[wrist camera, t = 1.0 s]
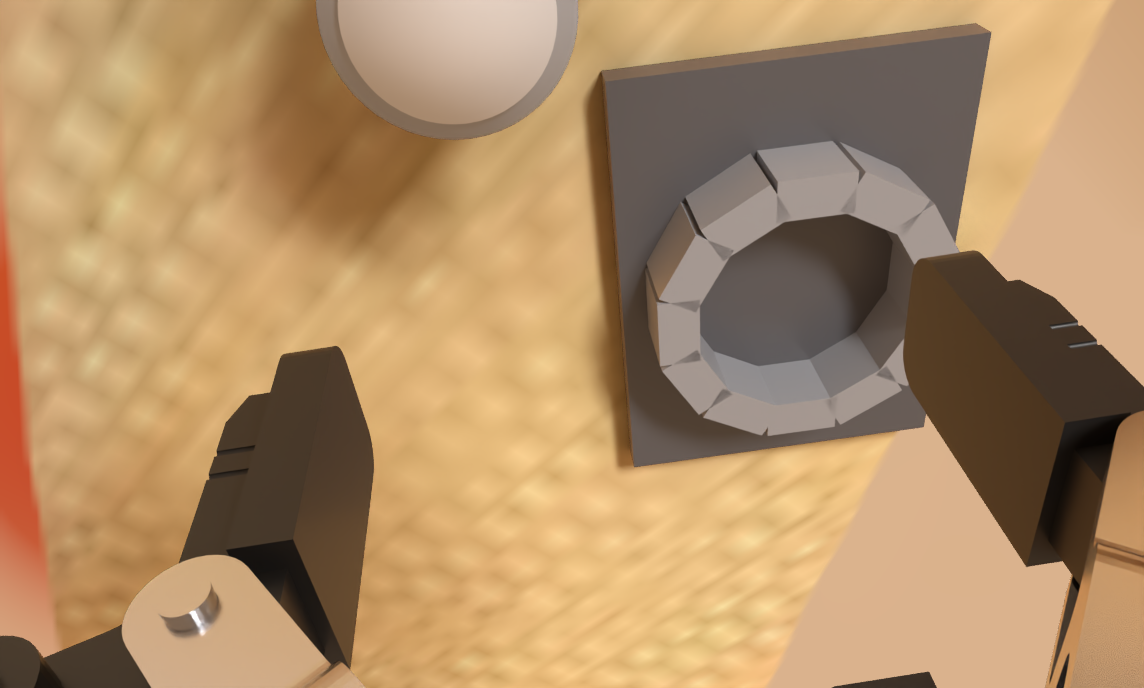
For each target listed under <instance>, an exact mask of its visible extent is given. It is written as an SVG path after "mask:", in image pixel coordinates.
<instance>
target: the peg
mask: <svg viewBox="0 0 1144 688" xmlns="http://www.w3.org/2000/svg"><path fill="white" fill-rule="evenodd" d="M316 12H317V20H318V25H319V30H320V34H321V37H322V41H323V44H324V47H325V50H326V52H327V54H328V56H329V58H330V61H331V63H332V65H333V67H334V68H335V70H336V72H337V73H338V75H339V76H340V78H341V80H342V81H343V82H344V84H345V85H346V86H347V87H348V89H349V90H350V91H351V92H352V94H353V95H354V96H355V97H356V98H358V99H359V100H360V101H361V102H362V103H363V104H364V105H365V106H366V107H367V108H368V109H370V110H371V111H372V112H374V113H375V114H376V115H377V116H379V117H381V118H382V119H384V120H386V121H387V122H389V123H391V124H392V125H395V126H397V127H399V128H401V129H403V130H406V131H408V132H411V133H415V134H418V135H421V136H426V137H431V138H436V139H449V140H459V139H471V138H477V137H482V136H486V135H489V134H492V133H495V132H499V131H501V130H503V129H505V128H507V127H510V126H512V125H514V124H515V123H517V122H519V121H520V120H522V119H523V118H525V117H526V116H528V115H529V114H530V113H531V112H533V111H534V110H535V109H536V108H537V107H538V106H540V105H541V103H542V102H543V101H544V100H545V99H546V98H547V97H548V96H549V95H550V94H551V92H552V91H553V89H554V88H555V86H556V85H557V84H558V82H559V81H560V79H561V77H562V75H563V73H564V71H565V69H566V67H567V65H568V62H569V60H570V57H571V54H572V52H573V48H574V43H575V39H576V35H577V25H578V0H316Z"/></svg>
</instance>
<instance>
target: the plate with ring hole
mask: <svg viewBox="0 0 1144 688" xmlns="http://www.w3.org/2000/svg"><path fill="white" fill-rule="evenodd" d="M990 37H991V32H990V31H988V30H987V29H985V28H983V27H981V26H980V25H978V24H976V23H975V24H967V25H960V26H952V27H944V28H936V29H928V30H920V31H912V32H904V33H897V34H889V35H881V36H873V37H865V38H857V39H849V40H841V41H833V42H826V43H818V44H810V45H802V46H794V47H786V48H778V49H770V50H763V51H755V52H747V53H739V54H731V55H723V56H715V57H707V58H699V59H692V60H684V61H676V62H668V63H660V64H652V65H644V66H636V67H629V68H621V69H613V70H605V71H601V74H602V87H603V100H604V113H605V126H606V139H607V152H608V165H609V178H610V191H611V204H612V217H613V230H614V243H615V256H616V269H617V283H618V296H619V309H620V322H621V335H622V348H623V361H624V374H625V387H626V400H627V413H628V426H629V439H630V451H631V456H632V460H633V464H634V467H639V466H646V465H653V464H661V463H668V462H675V461H682V460H689V459H697V458H704V457H711V456H718V455H726V454H733V453H740V452H747V451H755V450H762V449H769V448H776V447H783V446H791V445H798V444H805V443H812V442H820V441H827V440H834V439H841V438H848V437H856V436H863V435H870V434H877V433H885V432H892V431H899V430H906V429H913V428H920V427H924V422H925V416H926V412H925V411H924V409H923V408H922V406H921V405H920V403H919V402H918V400H917V399H916V397H915V396H914V394H913V392H912V391H911V388H910V386H909V384H908V381H907V378H906V374H905V369H904V363H903V345H904V337H905V329H906V320H907V312H908V304H909V296H910V287H911V279H912V272H913V269H914V266H915V264H916V262H917V261H918V260H919V259H921V258H927V257H934V256H940V255H947V254H953V253H960V252H959V250H958V248H957V246H956V244H955V241H956V236H957V230H958V224H959V218H960V212H961V206H962V201H963V195H964V189H965V183H966V177H967V171H968V166H969V160H970V154H971V148H972V142H973V136H974V131H975V125H976V119H977V113H978V107H979V101H980V96H981V90H982V84H983V78H984V72H985V67H986V61H987V55H988V49H989V43H990Z"/></svg>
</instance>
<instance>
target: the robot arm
mask: <svg viewBox="0 0 1144 688" xmlns="http://www.w3.org/2000/svg"><path fill="white" fill-rule="evenodd" d="M903 363H904V369H905V374H906V378H907V381H908V384H909V386H910V388H911V391H912V392H913V394H914V396H915V397H916V399H917V400H918V402H919V403H920V405H921V406H922V408H923V409H924V411H925V412H926V414H927V415H928V417H929V418H930V420H931V422H932V423H933V424H934V426H935V428H936V429H937V431H938V432H939V434H940V435H941V437H942V438H943V440H944V441H945V443H946V444H947V446H948V447H949V449H950V451H951V452H952V453H953V455H954V457H955V458H956V460H957V461H958V463H959V464H960V466H961V467H962V469H963V470H964V472H965V473H966V475H967V477H968V478H969V480H970V481H971V483H972V484H973V486H974V487H975V489H976V490H977V492H978V493H979V495H980V496H981V498H982V500H983V501H984V503H985V504H986V506H987V507H988V509H989V510H990V512H991V513H992V515H993V516H994V518H995V519H996V521H997V522H998V524H999V526H1000V527H1001V529H1002V530H1003V532H1004V533H1005V535H1006V536H1007V537H1008V539H1009V541H1010V542H1011V544H1012V545H1013V547H1014V548H1015V550H1016V551H1017V553H1018V554H1019V556H1020V558H1021V559H1022V561H1023V562H1024V564H1025V565H1026V567H1028V566H1035V565H1041V564H1047V563H1054V562H1060V561H1063V562H1064V564H1065V565H1066V566H1067V568H1068V569H1069V571H1070V572H1071V574H1072V575H1071V579H1070V582H1069V585H1068V588H1067V591H1066V596H1065V600H1064V605H1063V610H1062V614H1061V618H1060V623H1059V627H1058V632H1057V636H1056V641H1055V645H1054V649H1053V654H1052V659H1051V663H1050V668H1049V672H1048V676H1047V681H1046V685H1045V688H1144V387H1143V386H1142V385H1141V384H1140V383H1139V382H1138V381H1137V380H1136V379H1135V378H1134V377H1133V376H1132V375H1131V374H1130V373H1129V372H1128V371H1127V370H1126V369H1125V368H1124V367H1123V366H1122V365H1121V364H1120V363H1119V362H1118V361H1117V360H1116V359H1115V358H1114V357H1113V356H1112V355H1111V354H1110V353H1109V352H1108V351H1107V350H1106V349H1105V348H1104V347H1103V346H1102V345H1097V340H1096V339H1095V338H1094V337H1093V336H1092V335H1091V334H1090V333H1089V332H1088V331H1087V330H1086V329H1085V328H1084V327H1083V326H1078V321H1077V320H1076V319H1075V318H1074V317H1073V316H1072V315H1071V314H1070V313H1069V312H1068V311H1067V310H1066V309H1065V308H1064V307H1063V306H1062V305H1061V304H1060V303H1059V302H1058V301H1057V300H1056V299H1055V298H1054V297H1052V296H1050V295H1048V294H1046V293H1044V292H1042V291H1041V290H1039V289H1037V288H1035V287H1033V286H1031V285H1029V284H1027V283H1025V282H1023V281H1021V280H1014V281H1007V280H1006V279H1005V278H1004V277H1003V276H1002V275H1001V274H1000V273H999V272H998V271H997V270H996V269H995V268H994V267H993V266H992V264H991V263H990V262H989V261H988V260H987V259H986V258H985V257H984V256H983V255H982V254H981V253H979V252H978V251H974V250H973V251H967V252H960V253H953V254H947V255H940V256H934V257H927V258H921V259H919V260H918V261H917V262H916V264H915V266H914V269H913V272H912V279H911V287H910V296H909V304H908V312H907V320H906V329H905V337H904V345H903ZM373 473H374V459H373V449H372V443H371V438H370V433H369V430H368V426H367V423H366V420H365V417H364V414H363V411H362V408H361V405H360V402H359V399H358V396H357V393H356V390H355V387H354V384H353V381H352V378H351V375H350V372H349V369H348V366H347V363H346V360H345V357H344V355H343V353H342V351H341V349H340V348H339V347H337V346H333V347H327V348H320V349H314V350H307V351H301V352H294V353H287V354H283V355H282V356H281V358H280V361H279V364H278V367H277V371H276V374H275V378H274V381H273V385H272V388H271V392H270V393H264V394H258V395H251V396H249V397H248V398H247V399H246V400H245V401H244V403H243V404H242V405H241V406H240V407H239V408H238V409H237V411H236V412H235V413H234V414H233V415H232V416H231V418H230V419H229V420H228V421H227V422H226V424H225V427H224V430H223V433H222V436H221V439H220V442H219V445H218V448H217V456H216V457H214V460H213V463H212V466H211V469H210V472H209V480H207V481H206V484H205V487H204V490H203V493H202V496H201V499H200V502H199V505H198V508H197V511H196V514H195V517H194V520H193V523H192V526H191V529H190V532H189V535H188V538H187V541H186V544H185V547H184V550H183V552H182V555H181V558H180V561H179V564H176V565H174V566H172V567H171V568H169V569H167V570H165V571H163V572H162V573H161V574H159V575H158V576H156V577H155V578H154V579H152V580H151V581H150V582H149V583H148V584H147V585H145V586H144V587H143V589H142V590H141V591H140V592H139V593H138V594H137V595H136V597H135V598H134V599H133V601H132V602H131V604H130V605H129V607H128V609H127V611H126V613H125V616H124V619H123V624H122V625H120V626H118V627H116V628H114V629H112V630H110V631H108V632H106V633H103V634H101V635H98V636H96V637H93V638H91V639H89V640H86V641H84V642H81V643H79V644H76V645H74V646H72V647H69V648H67V649H64V650H62V651H59V652H57V653H55V654H52V655H50V656H47V657H45V658H43V656H41V654H40V653H39V651H38V650H37V649H36V647H35V646H34V645H32V643H31V642H29V641H27V640H25V639H23V638H20V637H15V636H0V688H365V686H364V685H363V684H362V683H361V682H360V681H359V679H358V678H357V677H356V676H355V675H354V674H353V673H352V672H351V670H350V667H351V658H352V650H353V642H354V633H355V625H356V617H357V608H358V600H359V591H360V583H361V575H362V566H363V558H364V550H365V541H366V533H367V524H368V516H369V508H370V499H371V491H372V483H373ZM833 688H937V687H936V685H935V683H934V681H933V679H932V677H931V675H930V673H929V672H924V673H917V674H911V675H904V676H898V677H892V678H886V679H879V680H873V681H866V682H860V683H854V684H848V685H842V686H835V687H833Z"/></svg>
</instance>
